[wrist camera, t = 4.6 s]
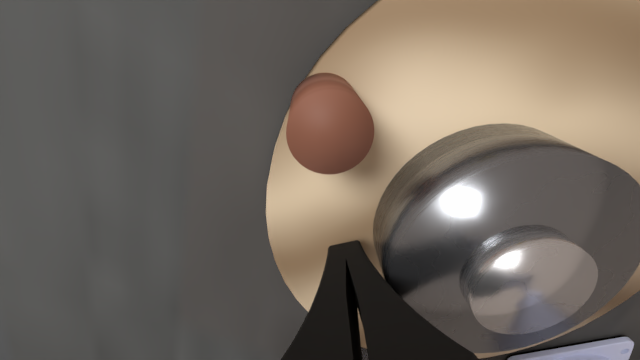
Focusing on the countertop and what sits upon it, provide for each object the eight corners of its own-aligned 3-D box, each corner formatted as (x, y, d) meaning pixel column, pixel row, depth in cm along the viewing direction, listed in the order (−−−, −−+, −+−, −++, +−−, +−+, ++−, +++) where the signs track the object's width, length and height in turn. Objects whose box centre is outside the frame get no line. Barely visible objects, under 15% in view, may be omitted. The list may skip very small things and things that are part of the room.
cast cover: (565, 277, 16) (643, 353, 12) (386, 311, 16) (409, 394, 12) (598, 98, 11) (730, 133, 8) (356, 152, 12) (378, 208, 8)
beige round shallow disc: (643, 304, 19) (734, 380, 15) (320, 362, 20) (324, 447, 16) (802, -131, 10) (1140, -235, 6) (200, 20, 11) (141, 19, 7)
